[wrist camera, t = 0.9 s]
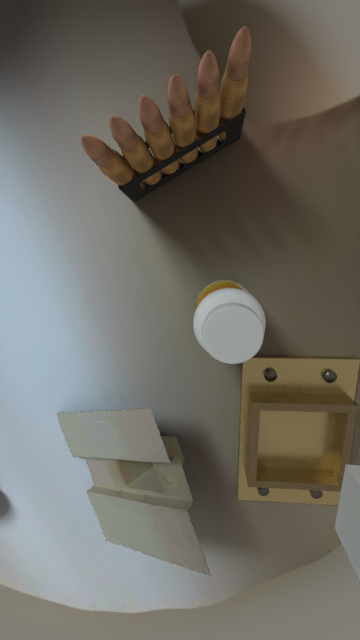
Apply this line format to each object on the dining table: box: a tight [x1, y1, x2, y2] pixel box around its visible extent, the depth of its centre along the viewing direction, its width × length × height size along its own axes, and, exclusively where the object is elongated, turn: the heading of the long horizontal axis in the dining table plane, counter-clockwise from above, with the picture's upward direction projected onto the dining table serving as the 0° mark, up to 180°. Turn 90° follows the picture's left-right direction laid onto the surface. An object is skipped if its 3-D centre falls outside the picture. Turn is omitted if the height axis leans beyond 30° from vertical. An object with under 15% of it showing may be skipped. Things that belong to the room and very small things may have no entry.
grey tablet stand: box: [57, 408, 210, 575], centre depth 30 cm, size 16×9×15 cm
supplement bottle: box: [193, 280, 266, 364], centre depth 23 cm, size 5×5×10 cm
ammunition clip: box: [81, 26, 252, 201], centre depth 19 cm, size 11×2×12 cm, turn 118°
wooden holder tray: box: [237, 356, 360, 505], centre depth 29 cm, size 17×11×3 cm, turn 1°
